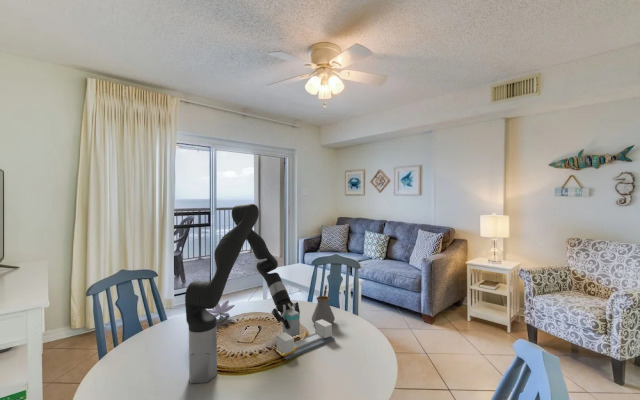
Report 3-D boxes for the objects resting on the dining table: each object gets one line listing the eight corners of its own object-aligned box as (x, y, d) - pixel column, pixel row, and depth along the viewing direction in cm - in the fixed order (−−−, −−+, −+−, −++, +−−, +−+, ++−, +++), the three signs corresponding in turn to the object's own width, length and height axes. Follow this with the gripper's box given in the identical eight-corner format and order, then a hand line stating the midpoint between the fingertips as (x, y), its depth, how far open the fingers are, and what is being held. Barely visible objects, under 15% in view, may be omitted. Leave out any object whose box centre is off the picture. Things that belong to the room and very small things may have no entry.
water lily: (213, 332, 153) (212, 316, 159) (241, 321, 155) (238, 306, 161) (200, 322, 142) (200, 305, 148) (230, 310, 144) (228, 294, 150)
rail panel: (285, 360, 114) (285, 342, 114) (274, 350, 121) (274, 334, 121) (334, 340, 129) (334, 324, 129) (321, 332, 136) (321, 318, 136)
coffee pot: (333, 329, 140) (333, 298, 140) (309, 328, 141) (309, 297, 141) (337, 312, 161) (336, 284, 161) (316, 311, 162) (316, 284, 162)
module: (291, 340, 129) (290, 315, 129) (282, 334, 135) (282, 310, 135) (299, 337, 132) (299, 312, 132) (291, 331, 138) (290, 308, 138)
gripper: (268, 292, 135) (282, 327, 125) (294, 286, 144) (309, 318, 134) (263, 301, 139) (276, 335, 130) (288, 294, 148) (303, 326, 139)
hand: (293, 327), depth 132 cm, fingers closed on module, 4 cm apart
